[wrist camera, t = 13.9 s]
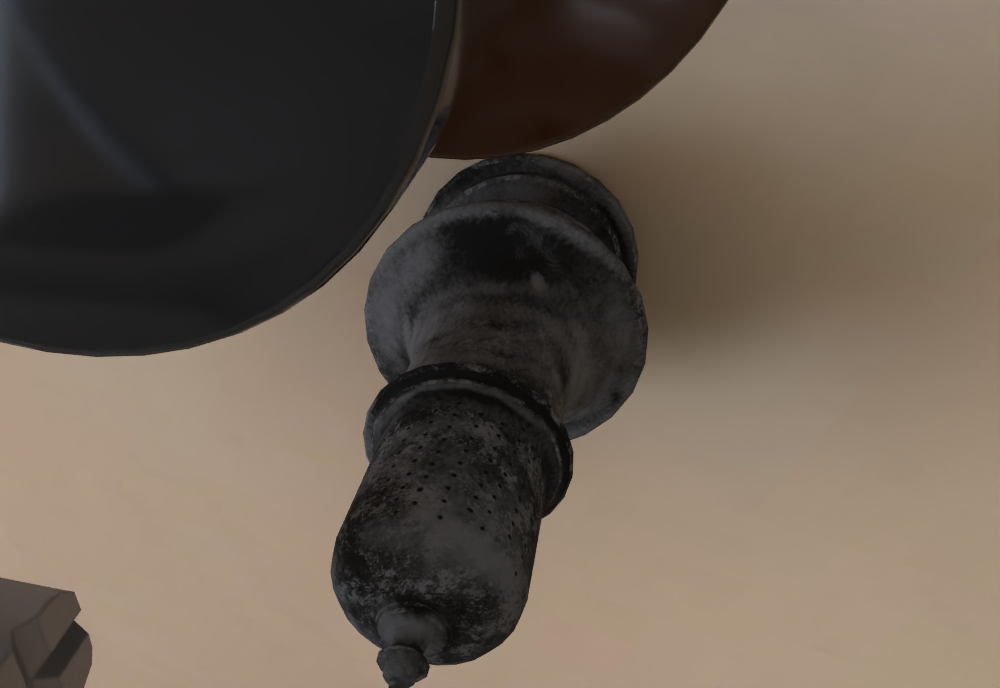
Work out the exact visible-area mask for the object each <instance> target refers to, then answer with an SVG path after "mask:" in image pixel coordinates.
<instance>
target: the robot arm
mask: <svg viewBox="0 0 1000 688" xmlns="http://www.w3.org/2000/svg"><path fill="white" fill-rule="evenodd" d="M80 611H81V608H80V606H79V603H78V600H77V598H76V595H75V593H74V592H72V591H67V590H62V589H57V588H51V587H46V586H41V585H36V584H31V583H25V582H20V581H15V580H10V579H5V578H0V688H84V686H85V683H86V680H87V677H88V674H89V671H90V668H91V665H92V644H91V641H90V637H89V634H88V633H87V632H86V631H85V630H84V629H83V628H82V627H81V626H80V625H78V624H77V623H76V622H75V621H74V619H75V618H76V616H77V615H78V614H79V612H80Z"/></svg>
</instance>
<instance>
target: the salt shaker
mask: <svg viewBox="0 0 1000 688" xmlns="http://www.w3.org/2000/svg"><path fill="white" fill-rule="evenodd" d="M637 261H638V251H637V247H636V242H635V237H634V232H633V227H632V226H631V224H630V222H629V220H628V218H627V216H626V214H625V212H624V210H623V209H622V207H621V205H620V203H619V202H618V200H617V199H616V198H615V197H614V196H613V195H612V194H611V193H610V192H609V191H608V190H607V189H606V188H605V187H604V186H603V185H602V184H601V182H600V181H599V180H597V179H595V178H594V177H592V176H590V175H589V174H587V173H586V172H584V171H582V170H581V169H579V168H578V167H576V166H574V165H573V164H570V163H566V162H563V161H560V160H557V159H554V158H550V157H547V156H544V155H529V154H516V155H511V156H506V157H499V158H490V159H485V160H482V161H480V162H478V163H476V164H474V165H472V166H470V167H468V168H466V169H465V170H463V171H461V172H459V173H457V174H456V175H455V176H454V177H453V178H452V179H451V180H450V181H449V182H448V183H447V184H446V185H445V186H444V187H443V188H441V189H440V190H439V191H438V193H437V194H436V196H435V198H434V200H433V201H432V203H431V205H430V207H429V208H428V210H427V212H426V214H425V215H424V218H423V220H421V221H419V222H417V223H415V224H413V225H412V226H410V227H409V228H408V229H407V230H406V231H405V232H404V233H403V234H402V235H401V236H400V237H399V238H398V239H397V240H396V241H395V242H393V243H392V244H391V245H390V246H389V247H388V248H387V250H386V252H385V253H384V255H383V257H382V259H381V261H380V262H379V264H378V266H377V268H376V270H375V271H374V273H373V275H372V277H371V279H370V284H369V289H368V294H367V299H366V304H365V309H364V311H365V321H366V331H367V341H368V343H369V346H370V348H371V351H372V353H373V356H374V359H375V361H376V364H377V366H378V369H379V371H380V372H381V374H382V375H383V376H384V378H385V379H386V381H387V382H388V383H389V384H388V385H386V386H385V387H384V388H383V389H381V390H380V392H379V394H378V395H377V397H376V398H375V400H374V402H373V403H372V405H371V407H370V408H369V410H368V412H367V417H366V422H365V427H364V432H363V435H364V443H365V451H366V456H367V458H368V461H369V463H370V464H369V466H368V469H367V471H366V473H365V475H364V478H363V480H362V482H361V484H360V486H359V489H358V491H357V493H356V495H355V498H354V500H353V502H352V504H351V507H350V509H349V511H348V513H347V515H346V518H345V520H344V522H343V524H342V527H341V529H340V531H339V533H338V536H337V538H336V542H335V547H334V552H333V558H332V565H331V578H332V583H333V589H334V592H335V594H336V596H337V599H338V601H339V603H340V605H341V607H342V609H343V611H344V613H345V615H346V617H347V619H348V620H349V621H350V623H351V624H352V625H353V626H354V627H355V628H356V629H357V631H358V632H359V633H360V634H361V635H363V636H364V637H365V638H367V639H368V640H369V641H371V642H372V643H373V644H375V645H376V646H377V647H379V648H381V649H382V650H380V651H379V653H378V657H377V661H376V662H377V663H378V665H379V667H380V669H381V671H383V677H384V679H385V681H386V682H387V683H388V684H389V688H409V687H411V686H413V685H414V683H415V682H418V681H420V680H422V679H424V678H425V677H427V674H428V671H429V668H430V666H429V664H431V665H456V664H460V663H464V662H468V661H472V660H475V659H477V658H479V657H481V656H482V655H484V654H486V653H488V652H489V651H491V650H493V649H494V648H496V647H497V646H499V645H500V644H502V643H503V642H504V641H505V640H506V639H507V637H508V636H509V635H510V634H511V633H512V632H513V631H514V629H515V627H516V625H517V623H518V621H519V619H520V617H521V614H522V612H523V609H524V607H525V604H526V602H527V599H528V593H529V588H530V582H531V576H532V570H533V565H534V559H535V553H536V547H537V542H538V536H539V530H540V524H541V519H542V518H544V517H546V516H547V515H549V514H550V513H551V512H552V511H553V510H554V509H555V507H556V506H557V505H558V504H559V503H560V502H561V500H562V499H563V498H564V497H565V494H566V492H567V489H568V487H569V484H570V482H571V479H572V475H573V449H572V446H571V442H570V440H572V439H575V438H578V437H580V436H583V435H586V434H587V433H589V432H590V431H592V430H593V429H595V428H596V427H598V426H599V425H601V424H602V423H604V422H605V421H607V420H608V419H610V418H611V417H612V416H613V415H614V414H615V413H616V412H617V410H618V409H619V408H620V407H621V406H622V405H623V404H624V402H625V401H626V400H627V399H628V398H629V397H630V395H631V394H632V393H633V391H634V388H635V386H636V384H637V381H638V379H639V377H640V375H641V372H642V370H643V368H644V365H645V360H646V350H647V340H648V325H647V320H646V315H645V311H644V306H643V301H642V296H641V294H640V292H639V291H638V289H637V287H636V285H635V283H636V273H637Z"/></svg>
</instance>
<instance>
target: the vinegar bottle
mask: <svg viewBox="0 0 1000 688" xmlns="http://www.w3.org/2000/svg"><path fill="white" fill-rule="evenodd" d="M727 1H728V0H0V342H2V343H7V344H11V345H16V346H21V347H26V348H31V349H35V350H40V351H45V352H52V353H62V354H73V355H83V356H93V357H107V356H144V355H151V354H157V353H164V352H170V351H176V350H183V349H189V348H193V347H196V346H200V345H203V344H206V343H210V342H213V341H216V340H220V339H223V338H226V337H229V336H233V335H236V334H239V333H242V332H244V331H247V330H249V329H251V328H253V327H255V326H257V325H259V324H261V323H263V322H265V321H268V320H270V319H272V318H274V317H276V316H278V315H280V314H282V313H284V312H286V311H287V310H289V309H290V308H292V307H293V306H294V305H296V304H297V303H299V302H300V301H302V300H303V299H305V298H306V297H308V296H309V295H311V294H312V293H313V292H315V291H316V290H318V289H319V288H321V287H322V286H324V285H325V284H326V283H327V282H328V281H329V280H330V279H331V278H332V277H333V276H334V275H335V274H336V273H337V272H339V271H340V270H341V269H342V268H343V267H344V266H345V265H346V264H347V263H348V262H349V261H350V260H351V259H352V258H353V257H354V256H355V255H357V254H358V253H359V252H360V251H361V249H362V248H363V247H364V245H365V244H366V243H367V242H368V240H369V239H370V238H371V236H372V235H373V234H374V232H375V231H376V230H377V229H378V227H379V226H380V225H381V223H382V222H383V221H384V220H385V218H386V217H387V216H388V214H389V213H390V212H391V210H392V209H393V208H394V206H395V205H396V203H397V202H398V200H399V199H400V197H401V196H402V194H403V193H404V191H405V190H406V189H407V187H408V186H409V184H410V183H411V181H412V180H413V178H414V177H415V175H416V174H417V172H418V171H419V169H420V168H421V166H422V165H423V163H424V162H425V160H426V159H427V157H430V158H445V159H461V160H470V159H485V158H499V157H506V156H511V155H516V154H521V153H526V152H531V151H536V150H540V149H542V148H545V147H548V146H551V145H554V144H557V143H560V142H563V141H566V140H569V139H572V138H574V137H576V136H578V135H580V134H582V133H584V132H586V131H588V130H590V129H592V128H594V127H596V126H598V125H600V124H602V123H604V122H606V121H608V120H610V119H611V118H613V117H614V116H616V115H617V114H619V113H620V112H622V111H623V110H625V109H626V108H628V107H629V106H631V105H632V104H634V103H635V102H637V101H638V100H640V99H641V98H642V97H643V96H644V95H646V94H647V93H648V92H649V91H650V90H651V89H653V88H654V87H655V86H656V85H657V84H658V83H660V82H661V81H662V80H663V79H664V78H665V77H666V76H668V75H669V74H670V73H671V72H672V71H673V70H674V69H675V68H676V67H677V66H678V64H679V63H680V62H681V61H682V60H683V59H684V58H685V57H686V56H687V54H688V53H689V52H690V51H691V50H692V49H693V48H694V47H695V46H696V44H697V43H698V42H699V41H700V40H701V39H702V37H703V36H704V34H705V33H706V32H707V30H708V29H709V27H710V26H711V24H712V23H713V22H714V20H715V19H716V17H717V16H718V15H719V13H720V12H721V10H722V9H723V7H724V6H725V5H726V3H727Z"/></svg>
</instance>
